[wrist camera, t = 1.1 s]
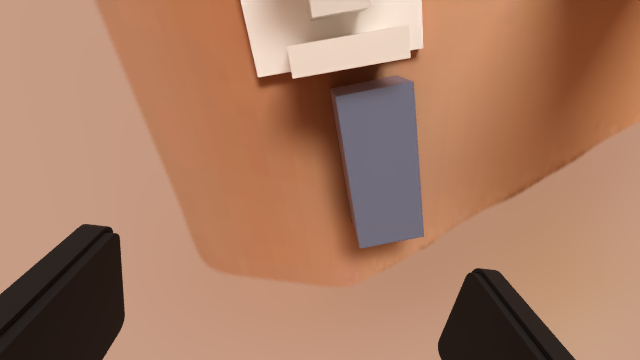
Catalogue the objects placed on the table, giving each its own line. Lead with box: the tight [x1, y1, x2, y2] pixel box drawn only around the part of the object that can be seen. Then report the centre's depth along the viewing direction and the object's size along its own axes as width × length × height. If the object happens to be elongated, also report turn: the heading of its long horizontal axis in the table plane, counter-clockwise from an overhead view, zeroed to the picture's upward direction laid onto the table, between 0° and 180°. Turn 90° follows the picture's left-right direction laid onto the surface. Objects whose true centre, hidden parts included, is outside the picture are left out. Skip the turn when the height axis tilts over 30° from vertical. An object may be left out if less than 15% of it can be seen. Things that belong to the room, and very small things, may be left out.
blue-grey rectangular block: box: [330, 76, 424, 249], centre depth 30 cm, size 6×14×5 cm, turn 10°
